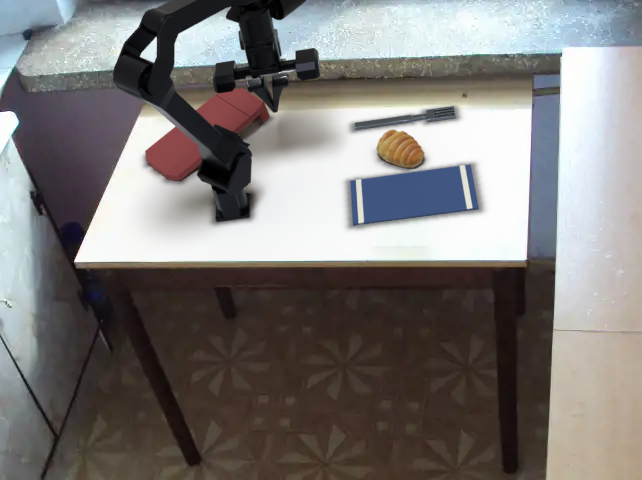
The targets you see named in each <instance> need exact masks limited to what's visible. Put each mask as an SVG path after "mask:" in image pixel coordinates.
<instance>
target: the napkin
mask: <svg viewBox="0 0 642 480" xmlns="http://www.w3.org/2000/svg"><path fill="white" fill-rule="evenodd" d="M473 175H474V174H473V171H472V166H471V164H461V165H455V166H447V167H441V168H440V167H439V168H433V169H426V170H419V171H412V172H411V171H409V172H404V173H396V174H390V175H389V174H388V175H383V176H381V175H380V176H375V177H367V178H359V179H353V180H350V197H351V216H352V226H358V225H365V224H366V225H367V224H373V223H374V224H375V223H381V222H382V223H383V222H390V221H398V220H406V219H412V218H420V217H427V216H428V217H429V216H434V215H443V214H452V213H458V212H466V211H473V210H479V208H480V207H479V202H478V198H477V193H476V192H477V191H476V188H475V187H476V186H475V181H474V176H473Z"/></svg>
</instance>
